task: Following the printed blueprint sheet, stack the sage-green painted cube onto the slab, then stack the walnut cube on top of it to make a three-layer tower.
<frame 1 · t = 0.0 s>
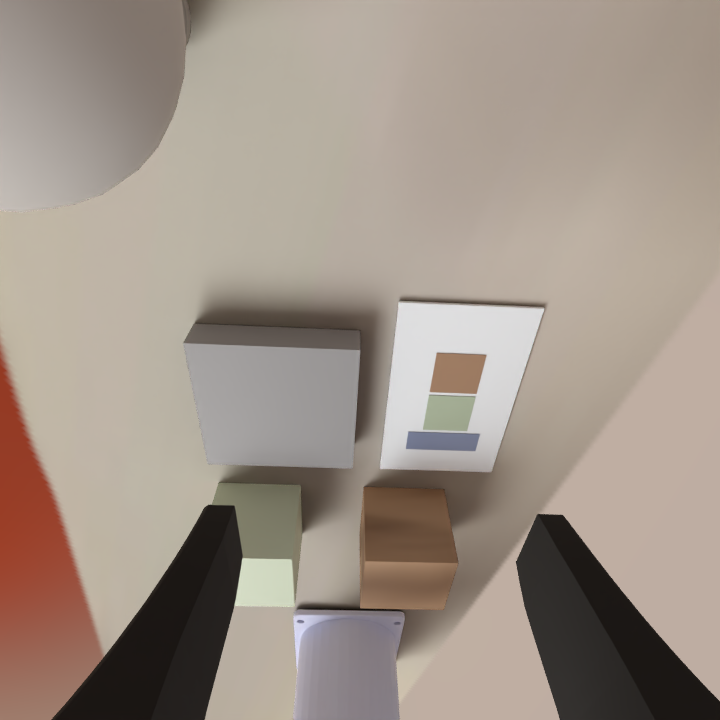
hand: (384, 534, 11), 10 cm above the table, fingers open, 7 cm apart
blueprint sheet: (451, 397, 22), on the table
block a: (262, 508, 27), on the table
slab: (281, 390, 22), on the table
lightbulb: (157, 13, 14), on the table
block b: (399, 511, 27), on the table
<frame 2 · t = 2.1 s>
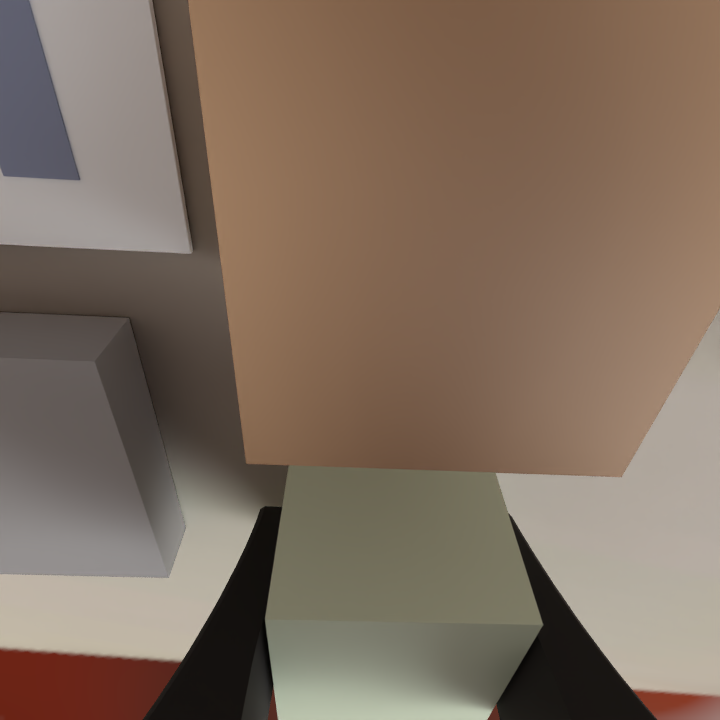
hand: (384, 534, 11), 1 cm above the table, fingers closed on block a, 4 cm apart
block a: (381, 487, 12), on the table, touching gripper
slab: (15, 436, 11), on the table
block b: (420, 175, 8), on the table
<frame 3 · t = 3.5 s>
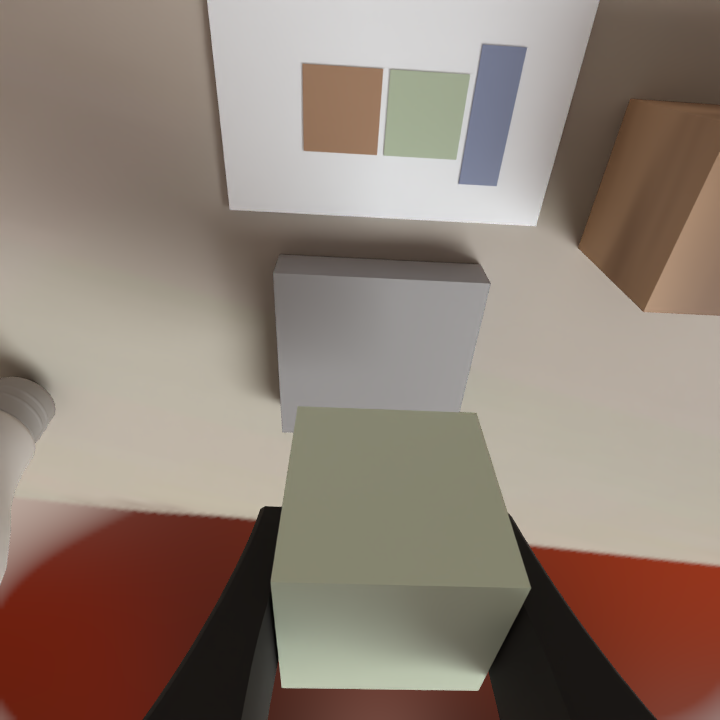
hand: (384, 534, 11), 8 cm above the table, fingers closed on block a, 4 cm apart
blueprint sheet: (393, 114, 13), on the table
block a: (380, 469, 13), point 6 cm above the table, touching gripper
slab: (373, 343, 18), on the table
lightbulb: (36, 385, 19), on the table
block b: (669, 183, 15), on the table
when the fingers open (4 cm above the table, at t = 5.0 s): block a stays where it is, resting on slab.
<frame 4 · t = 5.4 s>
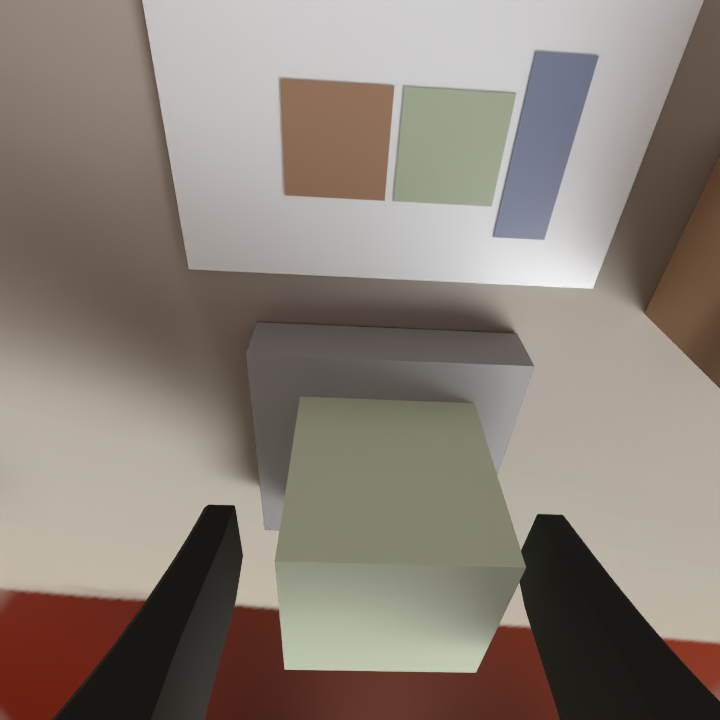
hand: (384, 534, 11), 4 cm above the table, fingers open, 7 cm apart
blueprint sheet: (407, 146, 10), on the table
block a: (380, 459, 13), point 1 cm above the table, touching slab
slab: (378, 423, 14), on the table
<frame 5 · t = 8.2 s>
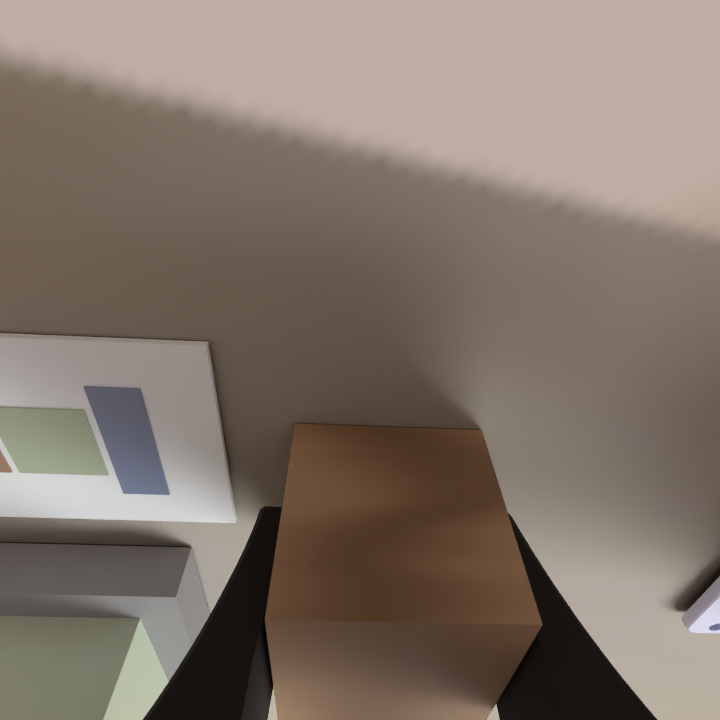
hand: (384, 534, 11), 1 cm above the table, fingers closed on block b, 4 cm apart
blueprint sheet: (15, 436, 11), on the table
block a: (83, 651, 15), point 1 cm above the table, touching slab
slab: (104, 603, 16), on the table
block b: (381, 487, 12), on the table, touching gripper
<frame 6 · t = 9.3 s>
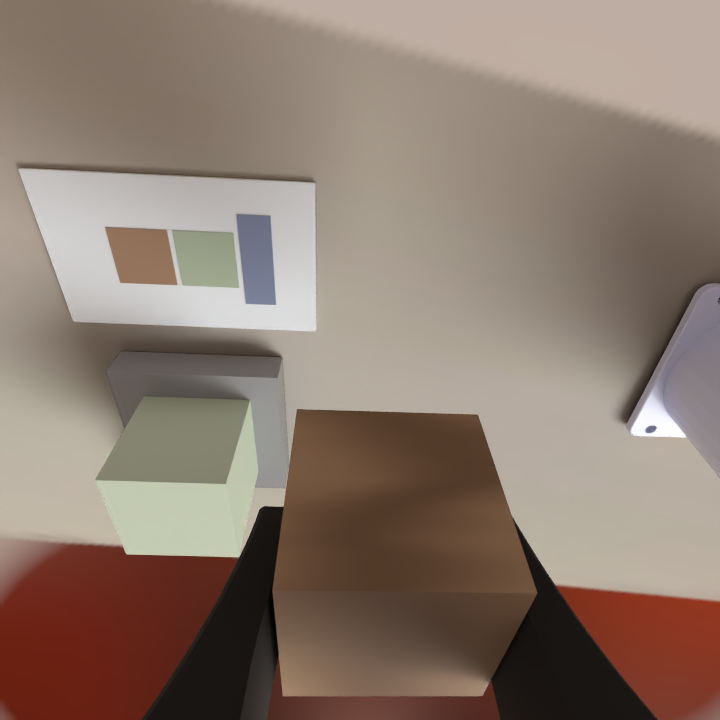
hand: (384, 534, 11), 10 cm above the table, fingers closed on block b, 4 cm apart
blueprint sheet: (184, 257, 18), on the table
block a: (204, 436, 21), point 1 cm above the table, touching slab
slab: (212, 413, 22), on the table
block b: (380, 472, 13), point 8 cm above the table, touching gripper
when the fingers open (8 cm above the table, at t = 10.8 s): block b stays where it is, resting on block a.
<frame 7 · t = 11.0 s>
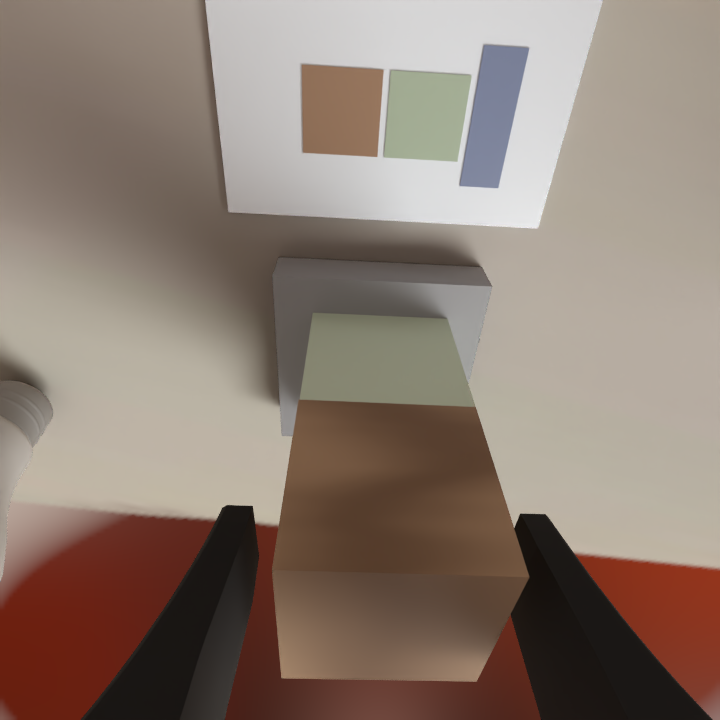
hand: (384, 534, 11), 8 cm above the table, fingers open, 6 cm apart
blueprint sheet: (393, 115, 13), on the table
block a: (375, 369, 17), point 1 cm above the table, touching block b, slab
slab: (373, 346, 18), on the table
lightbulb: (33, 389, 19), on the table
block b: (380, 463, 13), point 6 cm above the table, touching block a
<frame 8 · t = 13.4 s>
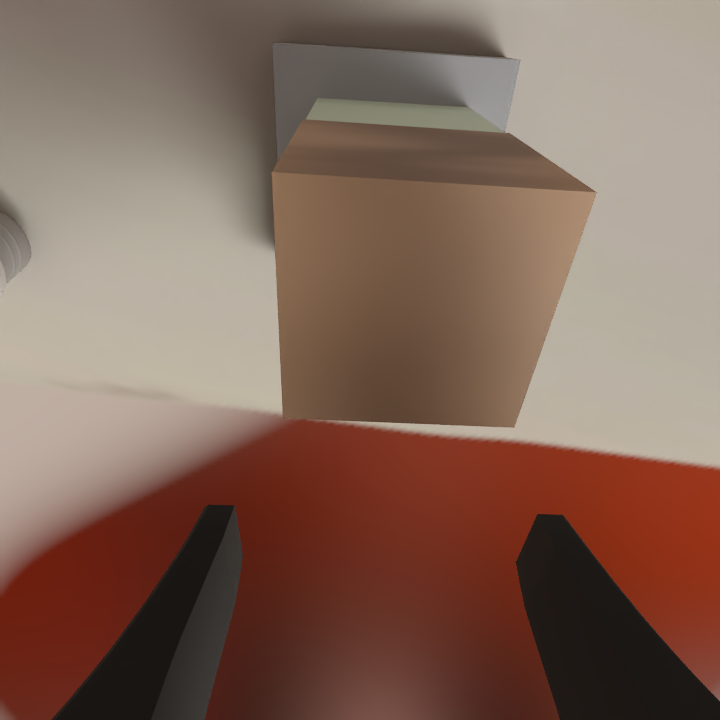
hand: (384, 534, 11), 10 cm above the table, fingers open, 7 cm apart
block a: (386, 181, 15), point 1 cm above the table, touching block b, slab
slab: (384, 169, 16), on the table
lightbulb: (10, 230, 18), on the table
block b: (395, 227, 11), point 6 cm above the table, touching block a
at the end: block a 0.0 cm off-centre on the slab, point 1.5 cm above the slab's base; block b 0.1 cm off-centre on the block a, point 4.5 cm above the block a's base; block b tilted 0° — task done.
